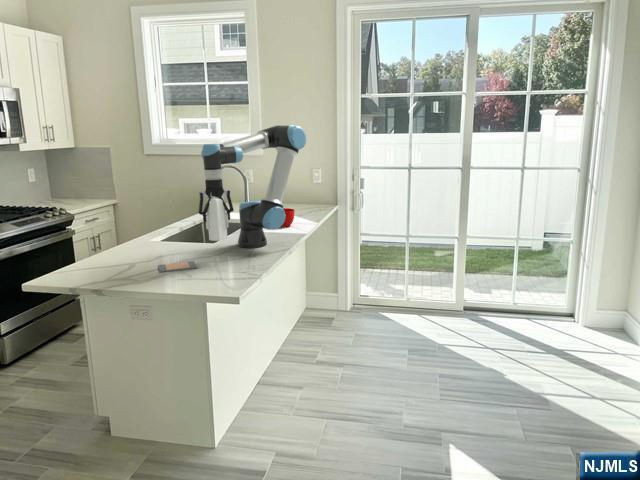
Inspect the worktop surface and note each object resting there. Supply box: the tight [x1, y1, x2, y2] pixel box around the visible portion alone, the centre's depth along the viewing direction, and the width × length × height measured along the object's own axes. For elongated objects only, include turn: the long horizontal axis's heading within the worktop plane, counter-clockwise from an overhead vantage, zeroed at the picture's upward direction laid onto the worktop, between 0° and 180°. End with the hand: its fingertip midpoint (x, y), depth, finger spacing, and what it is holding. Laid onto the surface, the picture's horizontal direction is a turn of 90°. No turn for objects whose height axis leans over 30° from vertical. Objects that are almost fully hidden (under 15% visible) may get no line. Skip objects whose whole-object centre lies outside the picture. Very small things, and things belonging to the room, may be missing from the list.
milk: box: [205, 196, 228, 242], centre depth 231 cm, size 6×6×22 cm
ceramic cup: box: [280, 207, 295, 228], centre depth 312 cm, size 13×17×10 cm
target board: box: [157, 260, 198, 274], centre depth 228 cm, size 16×11×1 cm
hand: (217, 227), depth 232 cm, fingers closed on milk, 8 cm apart
